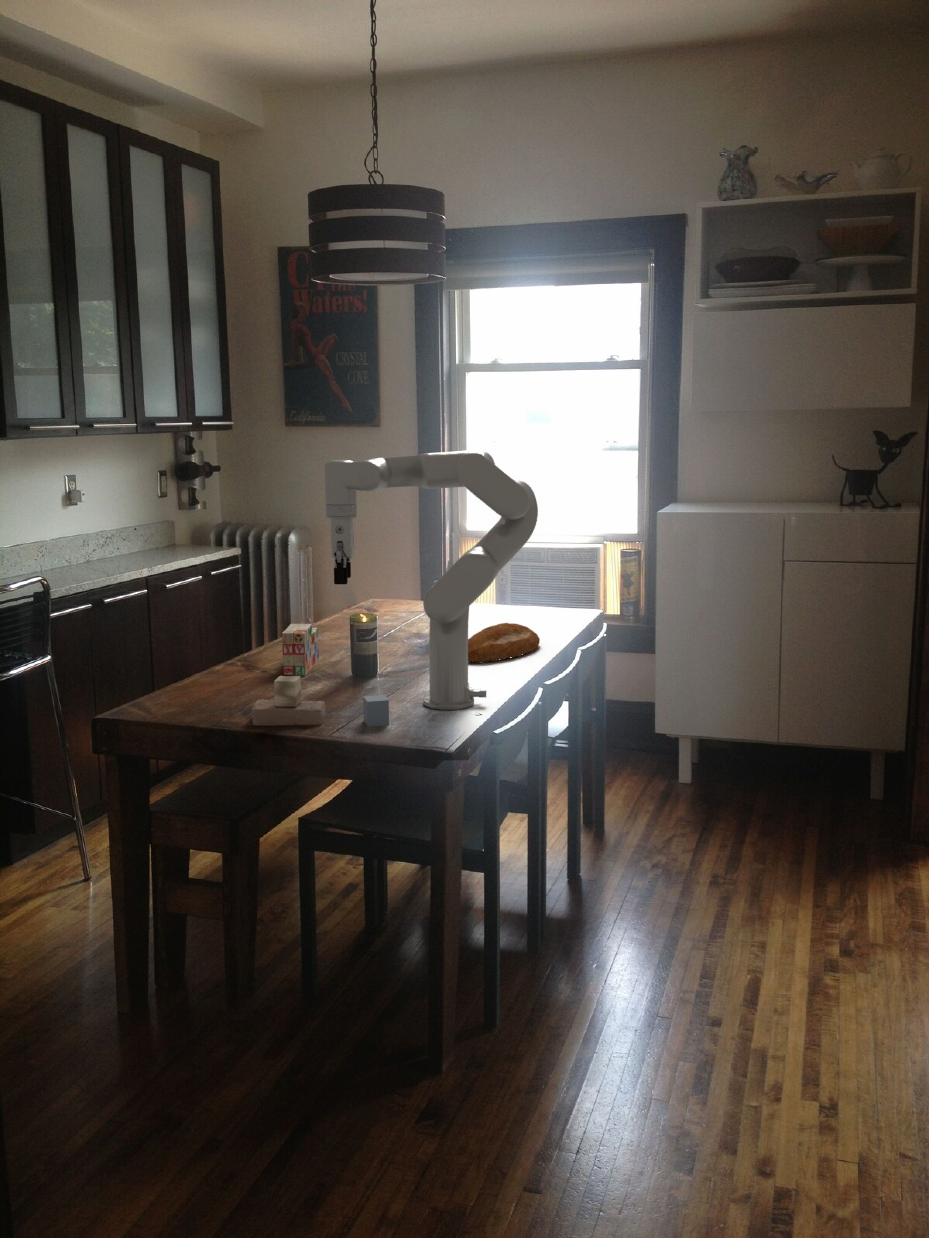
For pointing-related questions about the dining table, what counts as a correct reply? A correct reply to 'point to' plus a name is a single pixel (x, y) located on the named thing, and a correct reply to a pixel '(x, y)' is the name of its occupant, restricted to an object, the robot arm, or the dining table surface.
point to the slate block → (376, 710)
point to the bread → (501, 642)
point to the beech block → (287, 691)
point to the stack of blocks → (299, 649)
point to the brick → (288, 713)
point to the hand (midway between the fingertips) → (342, 580)
